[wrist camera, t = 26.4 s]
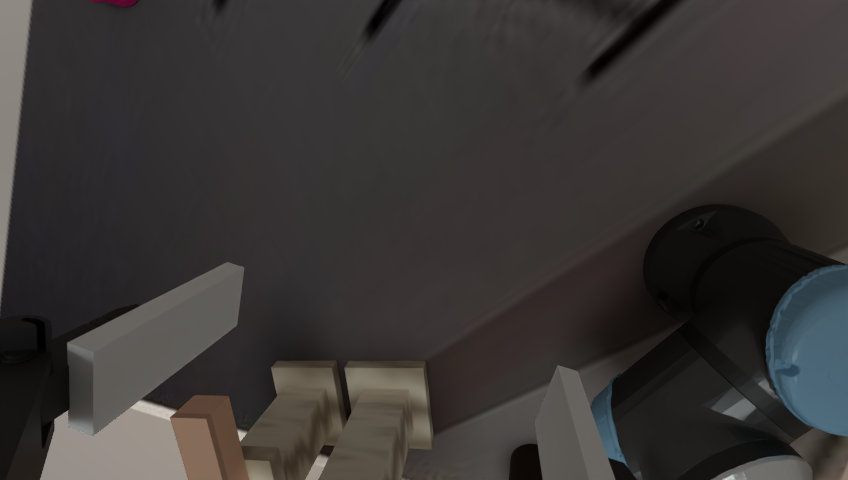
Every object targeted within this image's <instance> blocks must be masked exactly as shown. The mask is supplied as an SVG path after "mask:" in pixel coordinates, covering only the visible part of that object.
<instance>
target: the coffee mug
mask: <svg viewBox="0 0 848 480" xmlns="http://www.w3.org/2000/svg"><path fill="white" fill-rule="evenodd" d="M509 480H543V478H542V471H541V464H540V457H539V450H538V445H535V444H526V445H522V446H520V447H518V448H517V449H516V450H515V451H514V452H513V454H512V456H511V463H510V474H509Z"/></svg>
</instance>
